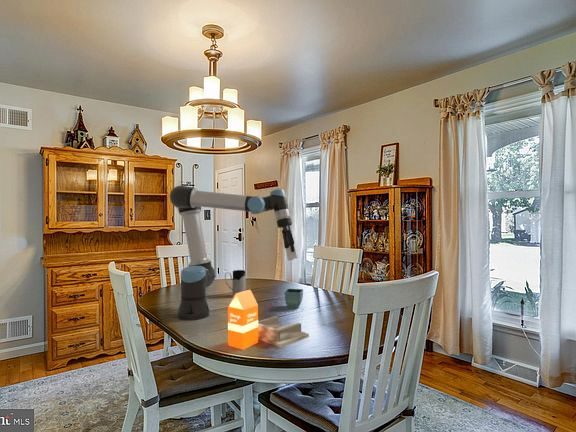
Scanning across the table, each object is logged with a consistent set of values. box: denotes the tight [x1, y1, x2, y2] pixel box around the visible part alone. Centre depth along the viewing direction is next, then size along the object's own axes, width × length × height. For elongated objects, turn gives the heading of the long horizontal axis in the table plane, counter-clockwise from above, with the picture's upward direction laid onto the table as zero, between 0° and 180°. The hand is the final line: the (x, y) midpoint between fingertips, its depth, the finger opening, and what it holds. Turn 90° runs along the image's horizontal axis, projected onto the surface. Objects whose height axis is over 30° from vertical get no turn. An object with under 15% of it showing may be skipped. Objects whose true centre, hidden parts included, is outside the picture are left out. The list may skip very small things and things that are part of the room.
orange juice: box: [227, 289, 259, 350], centre depth 133 cm, size 8×9×20 cm
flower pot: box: [284, 288, 304, 310], centre depth 185 cm, size 9×9×9 cm
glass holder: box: [224, 269, 247, 298], centre depth 213 cm, size 9×14×15 cm, turn 68°
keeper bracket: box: [258, 315, 310, 349], centre depth 142 cm, size 20×16×5 cm
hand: (292, 259), depth 176 cm, fingers open, 13 cm apart
